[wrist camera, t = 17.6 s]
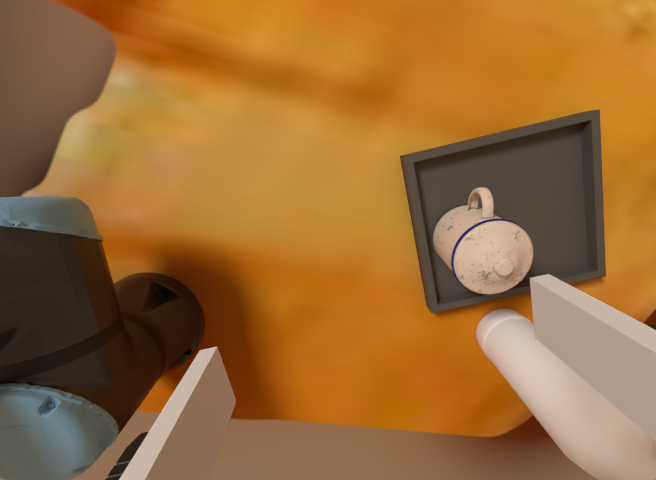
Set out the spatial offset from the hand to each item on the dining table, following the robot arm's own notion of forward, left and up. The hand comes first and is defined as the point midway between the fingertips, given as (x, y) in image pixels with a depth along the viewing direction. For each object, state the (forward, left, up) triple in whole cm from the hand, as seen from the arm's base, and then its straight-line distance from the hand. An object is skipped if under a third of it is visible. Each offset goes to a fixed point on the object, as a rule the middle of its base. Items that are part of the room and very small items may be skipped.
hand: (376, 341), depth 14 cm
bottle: (+19, -23, -34) cm, 45 cm away
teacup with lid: (+16, -6, -33) cm, 37 cm away
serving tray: (+21, -6, -34) cm, 40 cm away
